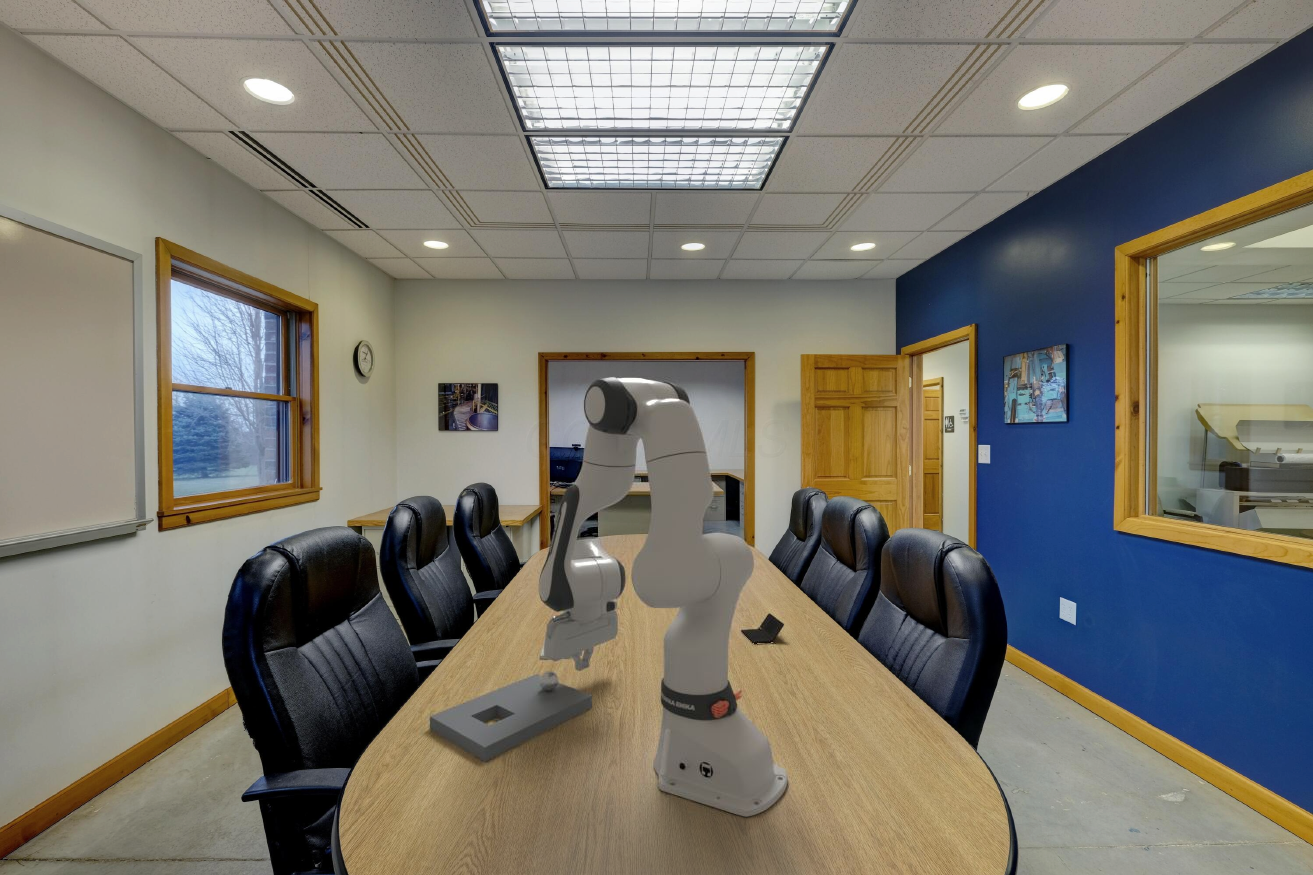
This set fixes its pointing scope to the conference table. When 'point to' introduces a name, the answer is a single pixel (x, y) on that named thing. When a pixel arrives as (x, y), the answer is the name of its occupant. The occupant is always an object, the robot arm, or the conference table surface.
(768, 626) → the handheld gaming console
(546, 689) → the steel ball
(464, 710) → the board
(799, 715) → the conference table surface
